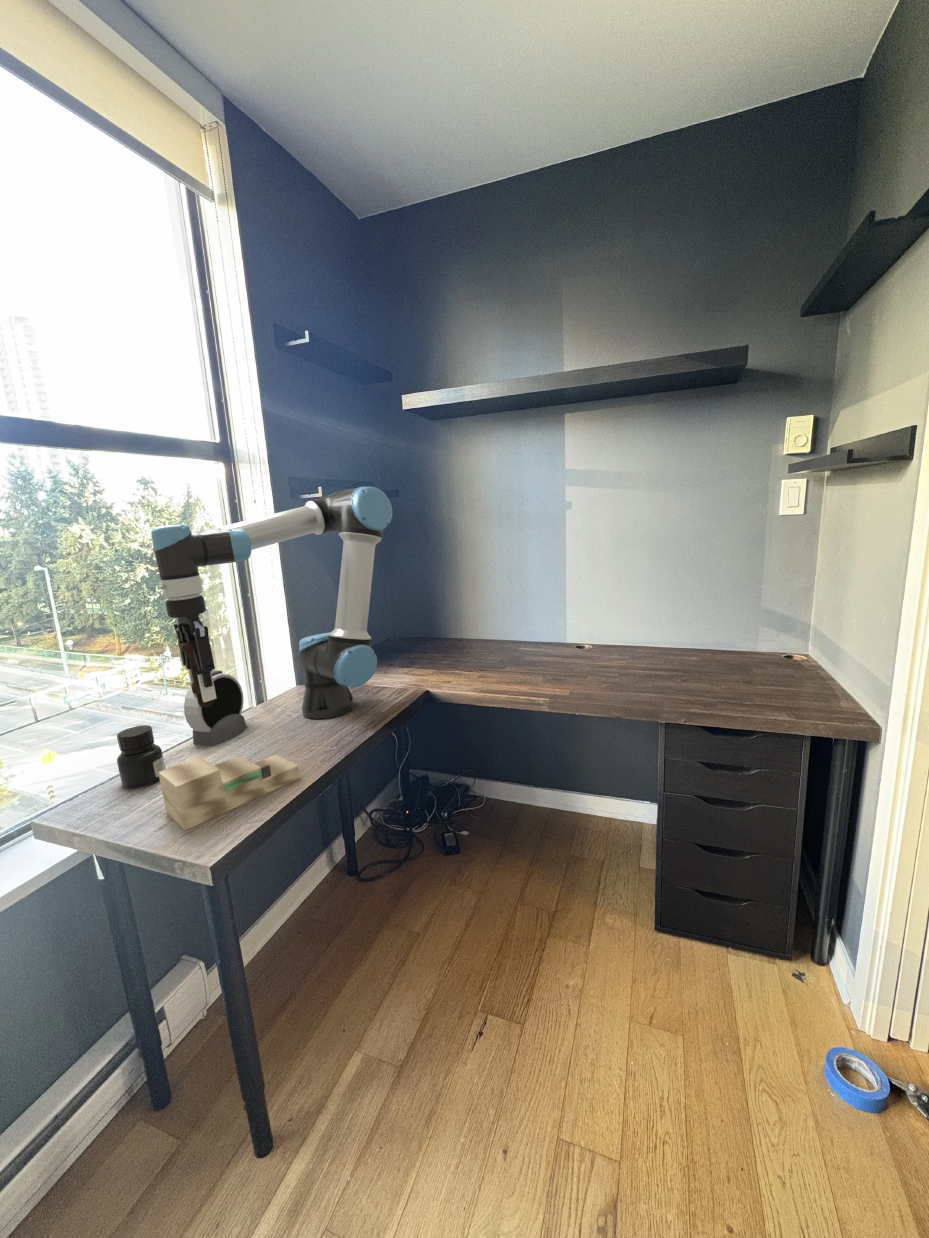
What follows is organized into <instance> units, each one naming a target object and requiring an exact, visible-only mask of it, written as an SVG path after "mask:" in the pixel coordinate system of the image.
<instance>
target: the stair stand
mask: <svg viewBox="0 0 929 1238" xmlns="http://www.w3.org/2000/svg"><path fill="white" fill-rule="evenodd" d="M158 774H159V778H160V780H159V782H160V788H161V792H162V796H163V797H162V798H163V802H164V805H165V811H166V814H167V815H169V817H170V818H171V819H172V820H173V821H174V822H176V824H178V826H180V827H181V828H182V829H183V830H184V831H187V830H189V829H192V828H193V827H196V826H198V825H200V824H203V823H205V822H207V821H209V820H211V819H214V818H215V817H218V816H220V815H222V814H225V813H226V812H229V811H231V810H233V809H235V808H237V807H240V806H243V805H245V804H247V803H249V802H251V801H253V800H255V799H258V798H260V797H262V796H264V795H267V794H270V793H271V792H273V791H275V790H277V789H279V788H282V787H284V786H287V785H288V784H291V783H293V782H294V781H295V782H296V781H297V780H299V779H301V778H300V771H299V766H298V764H296V763H294V762H291V761H290V760H287V759H286V758H283V757H282V756H280V755H278V754H274V755H271V756H268V757H266V758H264V759H261V760H258V761H255V762H252V761H250V760H248V759H247V758H246V757H244V756H242V755H237V756H234V757H233V758H232V757H231V758H229V759H227V760H225V761H222V762H220V763H217V764H211V762H209V761H207V760H206V759H204V758H203V757H201V756H197V757H195V758H193V759H190V760H187V761H185V762H182V763H179V764H177V765H173V766H171V767H167V768H165V770H162V771H160V772H158Z"/></svg>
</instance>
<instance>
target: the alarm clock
mask: <svg viewBox="0 0 929 1238" xmlns="http://www.w3.org/2000/svg"><path fill="white" fill-rule="evenodd" d="M211 673H212V678H213V683H214V688H215V693H216V698H217V699H214V700H213V703H212V704H211V705H210V706H208V707H204V706H202V707H200V705H199V704H198V701H197V698H194V697H193V692H192V688H191V685H190V686H189V688H188V689H187V691H186V694H185V696H184V703H183V713H184V717H185V720H186V723H187V724H188V725H189V727H190V728H191V729H192V743H193V745H194V746H207V747H215V746H216V747H217V746H218V745H220V744H223V743H226V742H228V741H230V740H232V739H234V738H236V737H238V736H240V735H241V734H242V733H243V732H244V730H245V729H246V730H247V728H248V727H247V722H246V720H245V716H244V715H242V712H243V709H244V702H245V701H244V700H245V699H244V692H243V689H242V686H241V684H240V682H239V681H238V679H237V678H236V677H234V676H232V675H231V674H229V673H223V671H222V670H215V669H214V670H212V671H211ZM246 730H245V731H246Z"/></svg>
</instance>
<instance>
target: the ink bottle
mask: <svg viewBox="0 0 929 1238" xmlns="http://www.w3.org/2000/svg"><path fill="white" fill-rule="evenodd" d="M116 738H117V744H118V747H119V751H120V753H119V755H118V757H117V759H116V764H117V767H118V772H119V773H118V774H119V775H120V776H119V777H120V782H121V785H122V786H123V787H124V788H125V789H138V788H142V787H145V786H149V785H152V784H154V783H156V782H158V781H159V782H160V778H159V774H158V772H160V771H162V770H165V769H166V764H165V759H164V755H163V751H162V747H160V745H157V744H156V743H155V736H154V732H153V727H152V725H144V724H143V725H137V726H133V727H129V728H127V729H123V730H121V731H120V732H119V733H117V734H116Z"/></svg>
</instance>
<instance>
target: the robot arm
mask: <svg viewBox="0 0 929 1238" xmlns="http://www.w3.org/2000/svg"><path fill="white" fill-rule="evenodd" d="M392 518H393V508H392V503H391V502H390V499H389V498H388V496H387V495H386V493H384V492H383V490H381V489H379V488H378V487H375V486H365V485H363V486H359V487H355V488H349V489H342V490H338V491H335V492H333V493H330V494H328V495H327V494H326V495H325V496H322V497H319V498H316V499H313V500H309V501H306V502H305V503H304V506H303V505H302V506H300V507H296V508H291V509H288V510H283V511H279V512H275V513H271V514H267V515H262V516H259V517H255V518H251V519H246V520H243V521H238V522H235V523H231V524H226V525H222V526H218V527H215V528H210V529H207V530H206V529H205V530H202V531H194V532H192V530H191V527H190V525H188V524H173V525H162V526H155V527H153V528H152V529H151V533H150V535H151V541H152V550H153V552H154V557H155V561H156V566H157V569H158V574H159V578H160V582H161V585H159V589H160V590H162V593H163V598H165V599H167V600H165V602H164V603H165V607H166V612H167V616H168V618H171V619H176V618H177V623H173V628H174V631H175V635H176V638H177V643H178V647H179V653H180V657H181V663H182V665H183V666H185V668H186V670H187V671H188V677H189V681H190V685H191V684H192V683H194V681H193V677H192V676H193V675H192V671H191V668H190V666H191V665H190V664H189V663H190V662H189V658H188V656H187V652H182V650H181V645H180V644H181V643H184V642H187V643H188V644H191V645H192V647H193V654H194V658H195V661H196V664H197V668H198V672H197V673H195V674H196V675H198V680H199V685H200V690H201V694H202V699H203V702H207V701H210V700H214V699H217V698H216V693H215V688H214V683H213V678H212V673H211V671H212V670H214V671H215V669H216V666H215V663H214V662H215V661H214V656H213V652H212V647H211V642H210V637H209V628H208V626H207V625H204V624H203V622H202V621H201V619H200V615H201V614H203V613H205V612H206V611H207V607H206V603H205V597H204V596H203V595H201V594H203V592H204V591H203V586H202V581H201V576H200V571H199V567H200V568H201V567H206V566H216V565H223V564H224V565H225V564H232V563H236V564H237V563H239V562H243V561H247V560H248V559H249V558H251V556H252V550H256V549H260V548H263V547H267V546H272V545H275V544H277V543H282V542H285V541H290V540H293V539H297V538H300V537H303V536H307V535H310V534H314V535H316V536H317V535H318V536H319V535H323V534H327V533H328V534H330V533H337V532H338V536H339V537H340V538H341V539H342V541H343V544H342V555H341V563H340V575H339V585H338V593H337V602H336V603H337V604H336V616H335V621H334V622H335V625H334V628H333V630H331V631H330V632H325V633H318V634H314V635H310V636H305V637H303V638H302V639H300V640H299V643H298V646H299V647H298V651H299V652H298V653H299V656H300V662H301V669H302V674H303V675H302V676H303V682H304V693H303V699H302V703H301V705H302V706H301V710H302V711H301V712H302V716H303V717H304V716H305V718H306V717H307V718H306V719H310V718H316V719H315V720H318V719H317V718H326V719H330V718H329V717H332V718H335V717H334V716H336V717H339V716H338V715H340V716H342V715H341V714H343V715H345V714H347V713H349V712H351V711H352V710H353V709H354V708H355V706H354V705H355V700H354V697H353V694H352V692H351V690H350V687H351V688H358V687H360V686H363V685H364V684H367V683H368V682H369V680H370V679H372V678H373V676H374V675H375V672H376V669H377V668H378V667H377V666H378V657H377V654H376V653H375V651H374V650H373V648H371V647H372V646H371V645H372V636H370V634H369V633H368V622H369V621H368V620H369V613H370V612H369V611H370V603H371V602H370V601H371V593H372V592H371V591H372V581H373V572H374V561H375V553H376V552H375V551H376V545H377V544H378V543H380V542H381V541H382V537H383V530H384V529H386V528H387V527H388V526H389V525H390V523H391V521H392ZM193 697H194V698H197V695H196V694H194V693H193ZM353 707H354V708H353ZM352 708H353V709H352ZM351 709H352V710H351ZM350 710H351V711H350ZM348 711H349V712H348ZM346 712H347V713H346ZM344 713H345V714H344Z"/></svg>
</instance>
